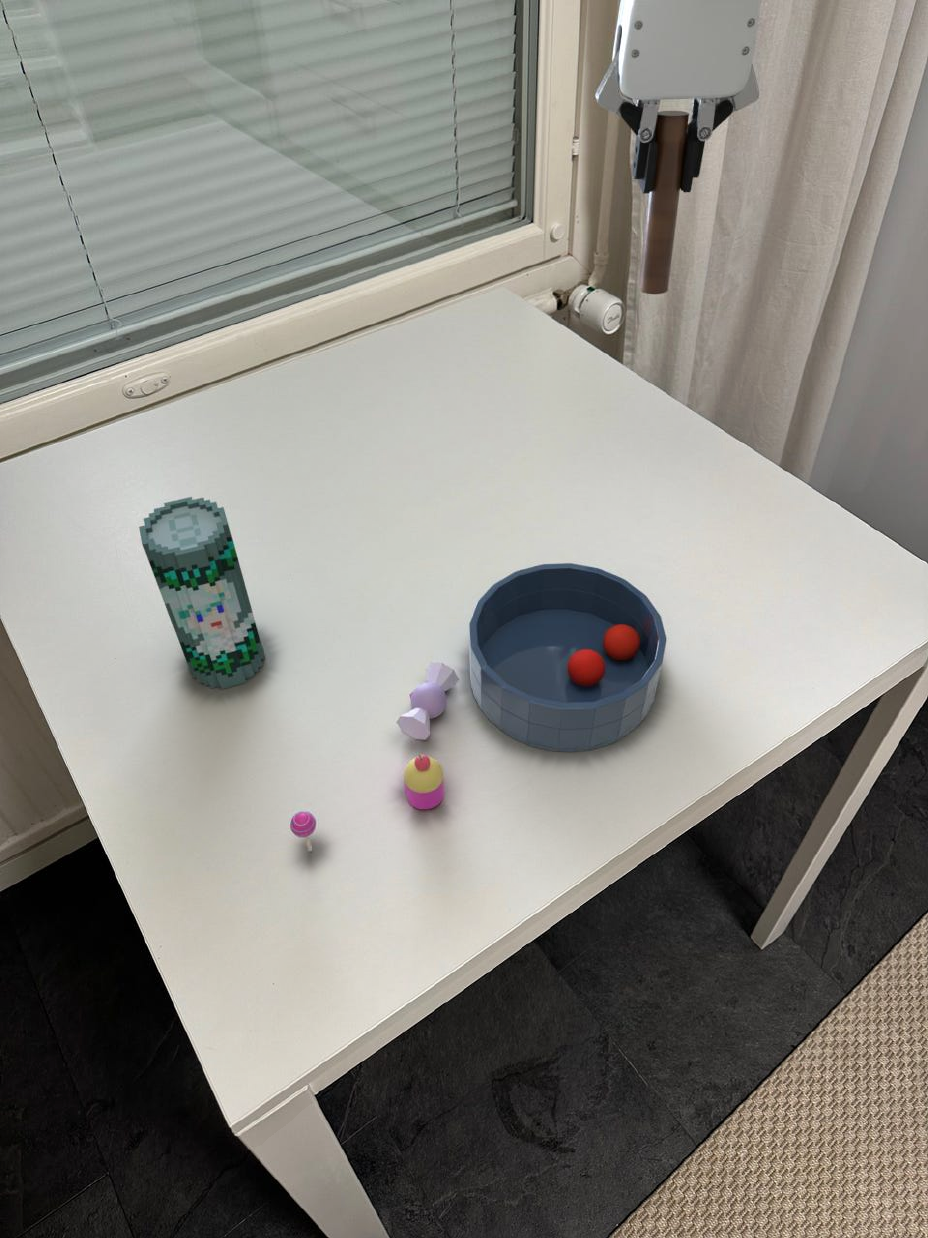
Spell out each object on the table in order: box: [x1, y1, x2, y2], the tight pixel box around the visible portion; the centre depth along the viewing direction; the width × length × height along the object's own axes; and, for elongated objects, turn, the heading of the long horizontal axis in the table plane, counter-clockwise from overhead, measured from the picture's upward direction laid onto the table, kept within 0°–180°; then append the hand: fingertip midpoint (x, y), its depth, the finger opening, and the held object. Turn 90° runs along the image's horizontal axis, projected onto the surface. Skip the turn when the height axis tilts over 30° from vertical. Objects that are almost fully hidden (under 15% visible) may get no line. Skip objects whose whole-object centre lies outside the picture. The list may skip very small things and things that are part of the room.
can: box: [138, 496, 266, 690], centre depth 70 cm, size 6×6×15 cm
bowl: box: [468, 562, 668, 753], centre depth 72 cm, size 15×15×6 cm
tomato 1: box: [568, 649, 605, 686], centre depth 71 cm, size 3×3×3 cm
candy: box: [289, 662, 460, 853], centre depth 65 cm, size 18×8×6 cm, turn 157°
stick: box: [638, 110, 690, 295], centre depth 76 cm, size 3×3×14 cm
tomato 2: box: [603, 624, 640, 661], centre depth 73 cm, size 3×3×3 cm
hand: (663, 184), depth 75 cm, fingers closed on stick, 2 cm apart
